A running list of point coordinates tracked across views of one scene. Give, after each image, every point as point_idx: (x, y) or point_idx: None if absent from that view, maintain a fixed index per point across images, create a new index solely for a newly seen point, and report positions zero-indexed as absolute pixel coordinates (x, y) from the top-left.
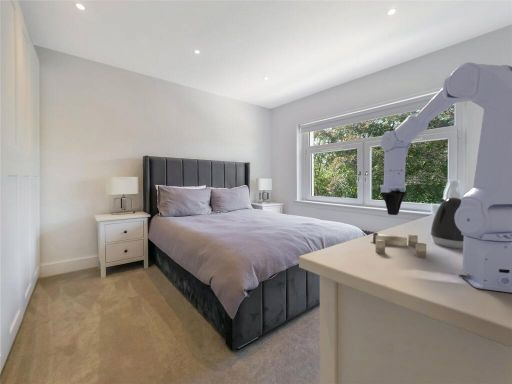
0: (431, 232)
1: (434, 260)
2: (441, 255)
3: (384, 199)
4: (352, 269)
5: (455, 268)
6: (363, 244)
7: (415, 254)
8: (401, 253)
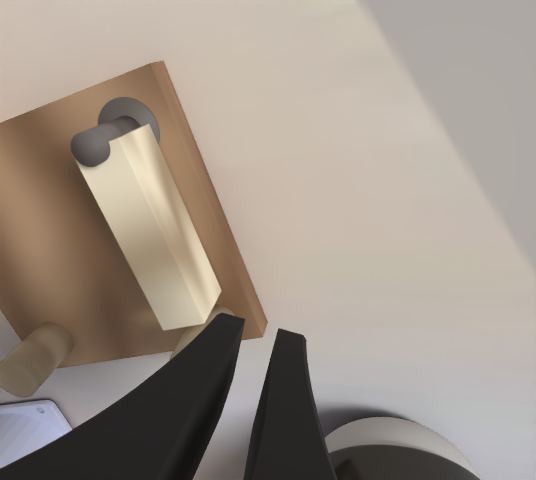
0: (372, 460)
1: (124, 367)
2: None
3: (41, 451)
4: None
5: (83, 406)
6: (150, 33)
7: (39, 327)
8: None
